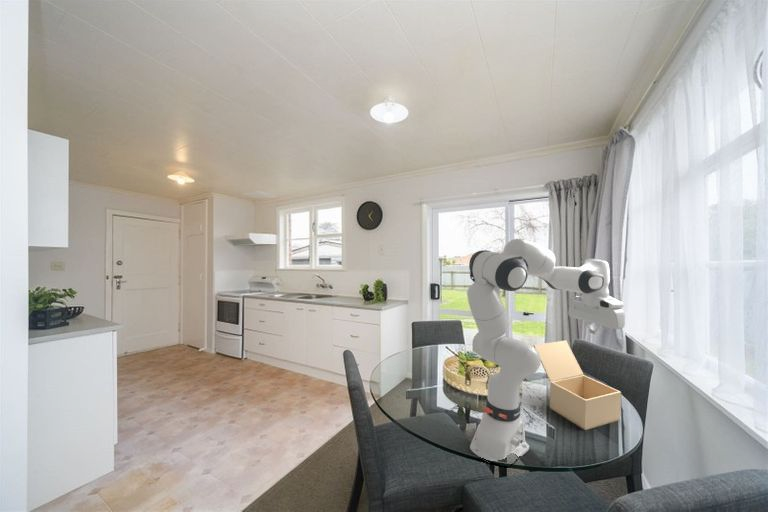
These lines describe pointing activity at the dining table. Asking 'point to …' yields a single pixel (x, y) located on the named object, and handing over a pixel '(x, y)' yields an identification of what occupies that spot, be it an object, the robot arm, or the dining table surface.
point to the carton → (585, 401)
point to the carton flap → (558, 360)
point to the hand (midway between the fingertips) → (593, 333)
